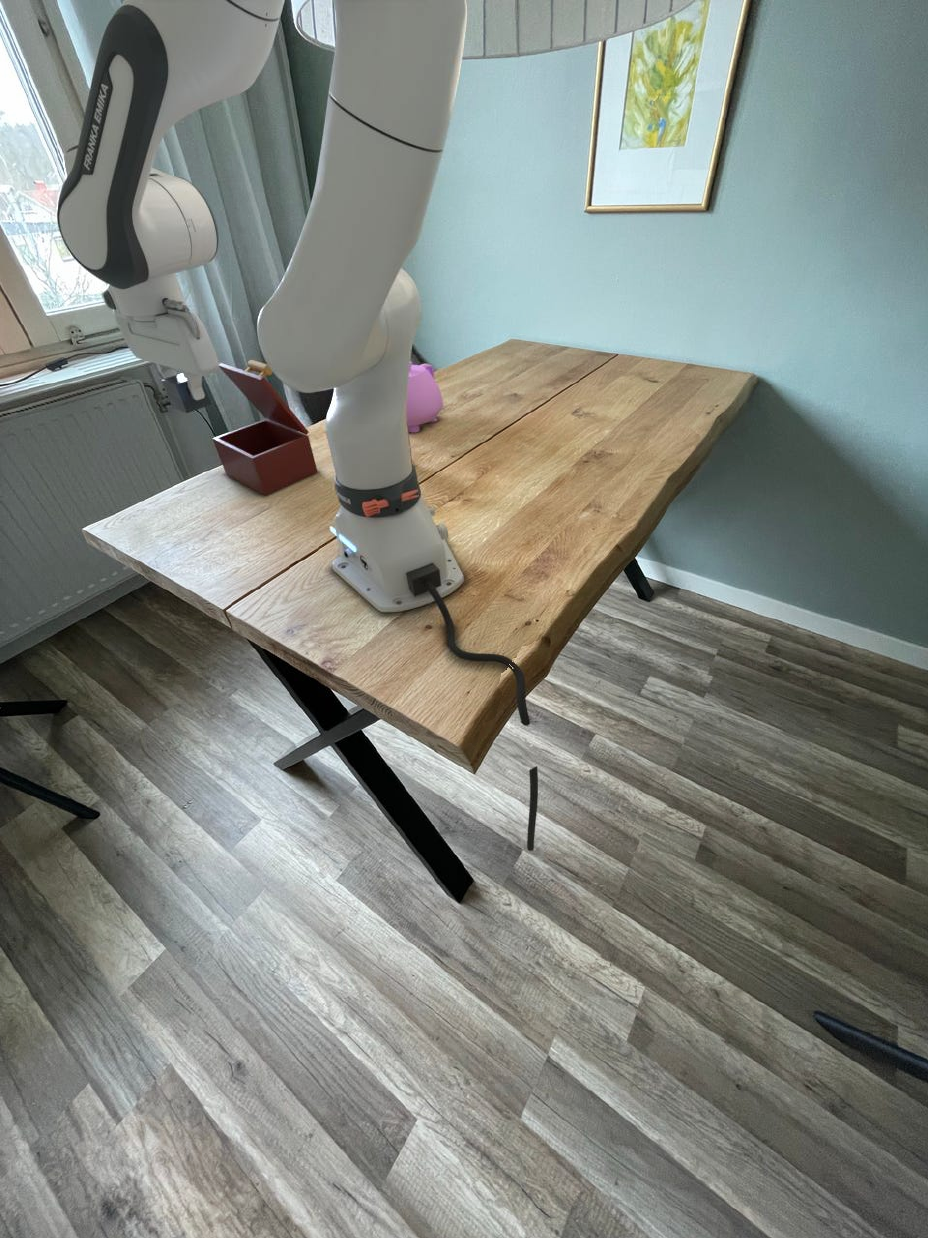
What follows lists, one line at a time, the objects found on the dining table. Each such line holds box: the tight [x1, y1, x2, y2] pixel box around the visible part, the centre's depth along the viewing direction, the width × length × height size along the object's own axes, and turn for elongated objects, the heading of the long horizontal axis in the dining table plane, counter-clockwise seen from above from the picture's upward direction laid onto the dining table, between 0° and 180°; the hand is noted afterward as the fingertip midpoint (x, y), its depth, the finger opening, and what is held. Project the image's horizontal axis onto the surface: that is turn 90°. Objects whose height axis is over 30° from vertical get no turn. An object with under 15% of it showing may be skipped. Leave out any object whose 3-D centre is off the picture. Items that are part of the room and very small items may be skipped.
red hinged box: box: [212, 418, 319, 497], centre depth 107 cm, size 13×16×8 cm
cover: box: [219, 359, 310, 436], centre depth 102 cm, size 14×16×5 cm
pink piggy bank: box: [406, 360, 444, 433], centre depth 121 cm, size 22×16×14 cm
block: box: [160, 372, 212, 414], centre depth 83 cm, size 4×4×4 cm
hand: (188, 395), depth 84 cm, fingers closed on block, 4 cm apart
